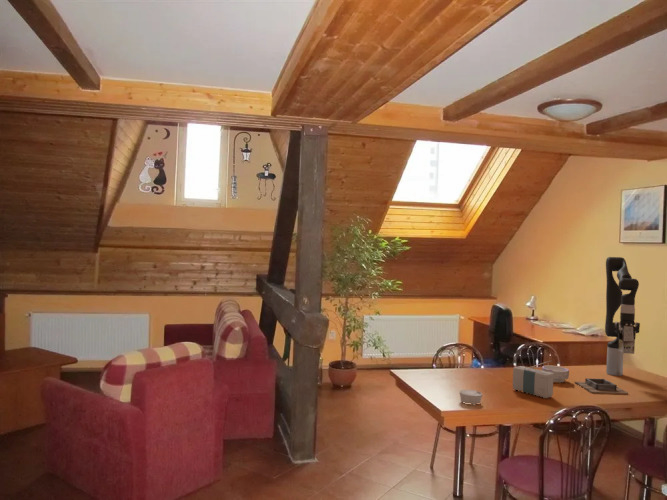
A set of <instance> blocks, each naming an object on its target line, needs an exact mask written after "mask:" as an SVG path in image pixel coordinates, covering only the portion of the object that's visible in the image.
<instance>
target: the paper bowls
mask: <svg viewBox="0 0 667 500" xmlns="http://www.w3.org/2000/svg"><path fill="white" fill-rule="evenodd" d="M541 370H542V371H546V372H551V373H554V377H553V383H554V382H559V383H558V384H561V382H562V383H564V382H565V381H566V380H567V379H569V377H570V369H569V368H566V367H564V366H563V367H562V366H557V365H542V366H541Z"/></svg>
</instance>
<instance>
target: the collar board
mask: <svg viewBox="0 0 667 500" xmlns="http://www.w3.org/2000/svg"><path fill="white" fill-rule="evenodd" d="M574 384H575V385H577V386H578V385H579V386H578V387H580V386H581V387H580V388H582V389H583V388H584V389H583V390H585V391H587V392H589V393H591V394H593V395H594V394H596V395H597V394H598V395H626V396H627V395H629V392H628V391H626V390H624V389H622V388H620V387H618V386H617V384H615V383H612V381H609V380H607V379H605V378H586V377H585V381H574Z"/></svg>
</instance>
